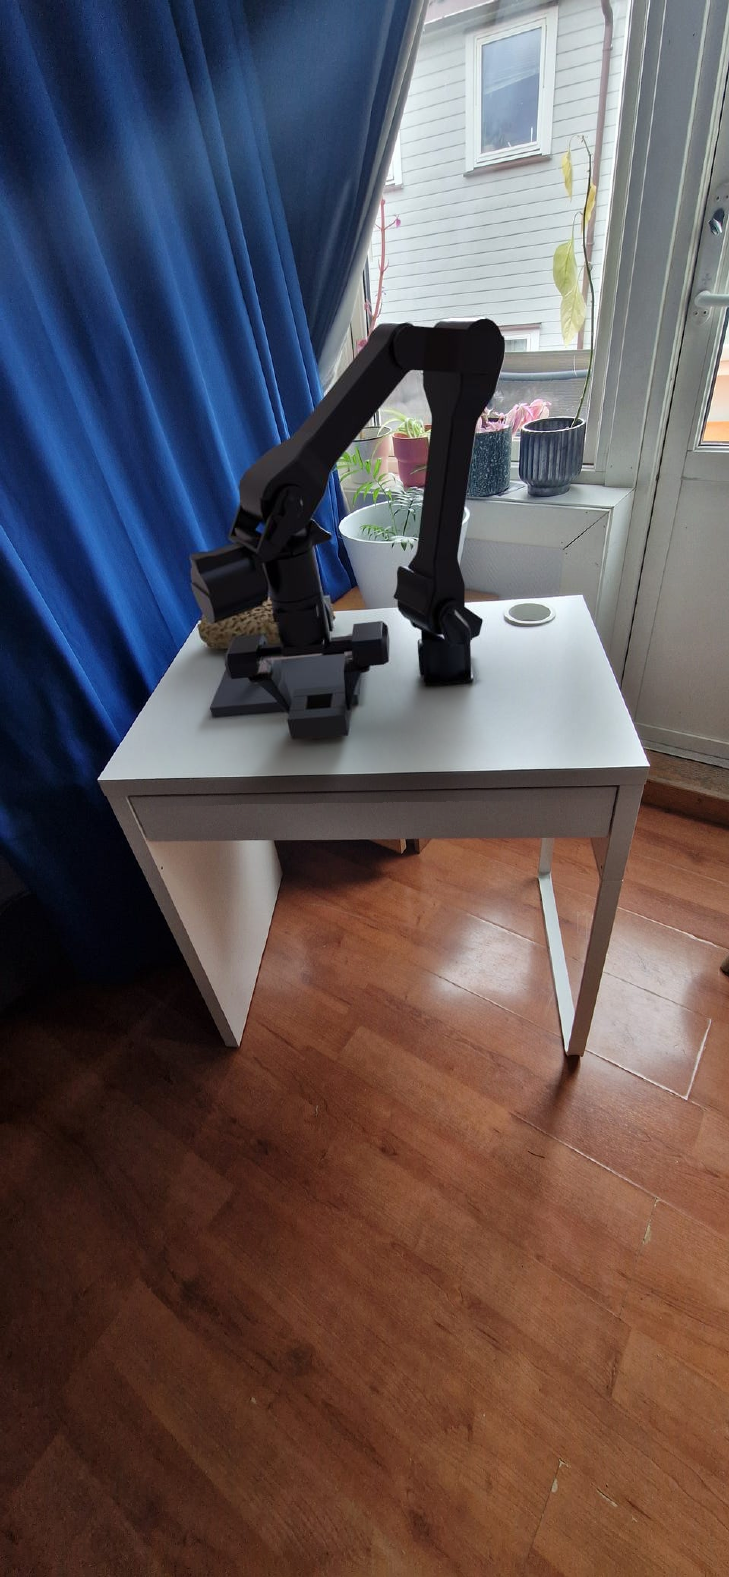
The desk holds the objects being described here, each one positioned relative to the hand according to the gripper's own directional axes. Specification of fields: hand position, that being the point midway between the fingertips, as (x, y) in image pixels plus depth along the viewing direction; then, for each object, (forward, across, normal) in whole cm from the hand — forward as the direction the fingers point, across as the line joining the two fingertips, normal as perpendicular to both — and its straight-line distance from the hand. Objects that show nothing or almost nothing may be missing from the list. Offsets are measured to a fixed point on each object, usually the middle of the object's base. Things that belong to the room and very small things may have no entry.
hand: (320, 711), depth 81 cm
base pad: (+3, +6, -11) cm, 13 cm away
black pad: (+2, 0, 0) cm, 2 cm away
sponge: (+3, +11, -26) cm, 29 cm away
